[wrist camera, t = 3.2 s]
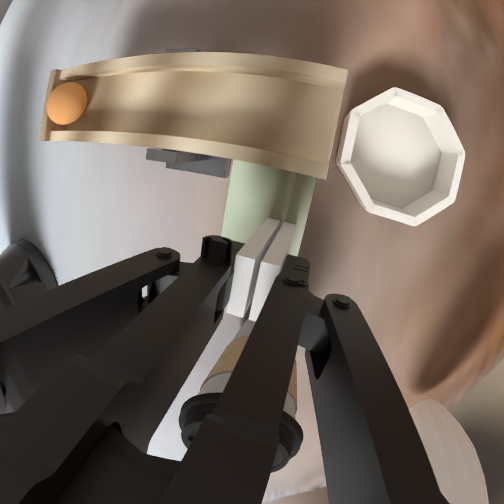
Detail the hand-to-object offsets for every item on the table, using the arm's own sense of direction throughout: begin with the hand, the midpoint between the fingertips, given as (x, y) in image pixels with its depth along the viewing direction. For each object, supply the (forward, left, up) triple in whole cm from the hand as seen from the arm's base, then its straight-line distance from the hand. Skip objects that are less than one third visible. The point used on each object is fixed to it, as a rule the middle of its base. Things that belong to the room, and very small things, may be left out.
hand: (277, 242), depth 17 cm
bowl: (+8, +7, -9) cm, 14 cm away
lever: (-9, +4, -1) cm, 10 cm away
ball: (-18, +7, +1) cm, 19 cm away
